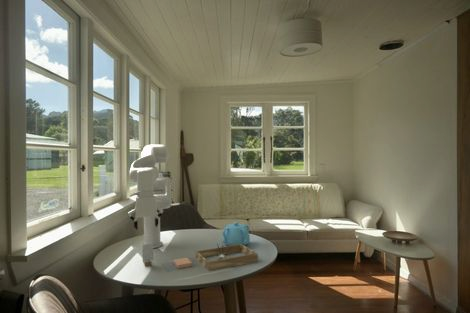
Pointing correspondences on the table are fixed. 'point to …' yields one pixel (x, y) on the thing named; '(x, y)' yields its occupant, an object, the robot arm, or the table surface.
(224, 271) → the table surface
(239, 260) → the wooden frame
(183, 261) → the tile
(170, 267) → the mat
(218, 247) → the reed diffuser
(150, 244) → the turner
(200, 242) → the table surface
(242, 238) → the decorative pot
